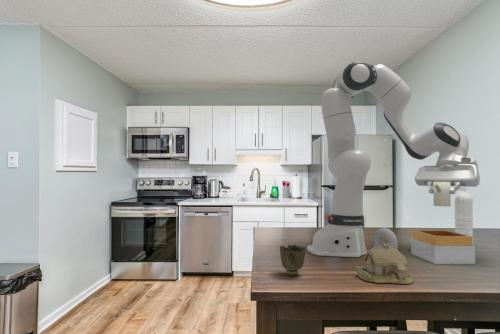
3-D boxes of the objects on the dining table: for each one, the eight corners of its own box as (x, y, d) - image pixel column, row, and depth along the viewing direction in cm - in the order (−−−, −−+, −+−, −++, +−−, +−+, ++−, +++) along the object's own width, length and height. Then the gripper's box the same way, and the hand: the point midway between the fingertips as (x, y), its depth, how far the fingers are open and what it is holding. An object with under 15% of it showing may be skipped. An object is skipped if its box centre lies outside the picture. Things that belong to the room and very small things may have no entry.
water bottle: (462, 243, 142) (462, 187, 142) (476, 246, 135) (476, 187, 136) (447, 244, 139) (447, 187, 140) (461, 247, 133) (460, 187, 134)
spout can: (436, 205, 116) (436, 181, 116) (452, 205, 112) (452, 181, 112) (428, 206, 110) (427, 181, 111) (444, 207, 106) (444, 182, 107)
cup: (287, 280, 87) (287, 250, 87) (274, 272, 94) (275, 245, 94) (310, 277, 90) (310, 248, 90) (296, 270, 96) (296, 243, 97)
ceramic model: (395, 272, 96) (395, 239, 96) (421, 284, 85) (420, 246, 85) (351, 274, 94) (351, 239, 94) (372, 286, 83) (372, 248, 83)
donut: (371, 252, 120) (371, 226, 121) (377, 252, 122) (377, 225, 122) (393, 259, 112) (393, 230, 112) (400, 258, 113) (400, 229, 113)
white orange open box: (434, 264, 105) (434, 236, 106) (411, 253, 119) (411, 229, 120) (483, 263, 106) (483, 236, 107) (454, 253, 120) (454, 230, 121)
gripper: (417, 160, 125) (408, 185, 118) (480, 158, 110) (473, 187, 103) (422, 172, 128) (412, 197, 121) (483, 171, 113) (477, 200, 106)
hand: (441, 192), depth 112 cm, fingers closed on spout can, 5 cm apart
